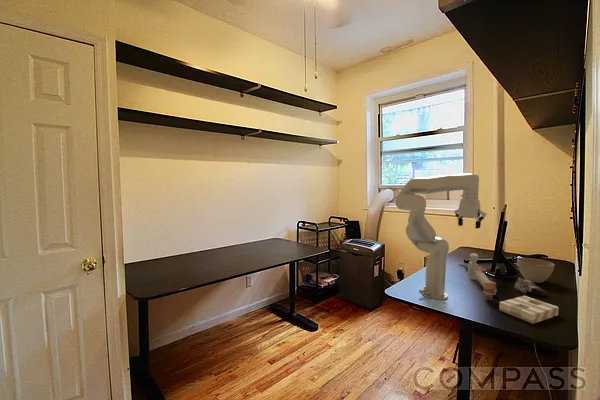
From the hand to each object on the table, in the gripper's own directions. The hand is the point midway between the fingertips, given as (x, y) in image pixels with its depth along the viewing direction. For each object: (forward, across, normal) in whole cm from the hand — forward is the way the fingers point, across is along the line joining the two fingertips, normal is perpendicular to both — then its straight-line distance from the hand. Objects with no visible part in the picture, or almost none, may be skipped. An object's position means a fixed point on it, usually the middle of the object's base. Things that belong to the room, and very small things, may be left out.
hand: (468, 226), depth 160 cm
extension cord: (+37, -9, +77) cm, 86 cm away
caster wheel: (+37, +20, +28) cm, 50 cm away
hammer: (+36, +1, +14) cm, 39 cm away
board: (+36, +31, -3) cm, 48 cm away
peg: (+36, +14, -3) cm, 39 cm away
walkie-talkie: (+37, -19, +40) cm, 57 cm away
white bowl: (+37, +11, +54) cm, 66 cm away
